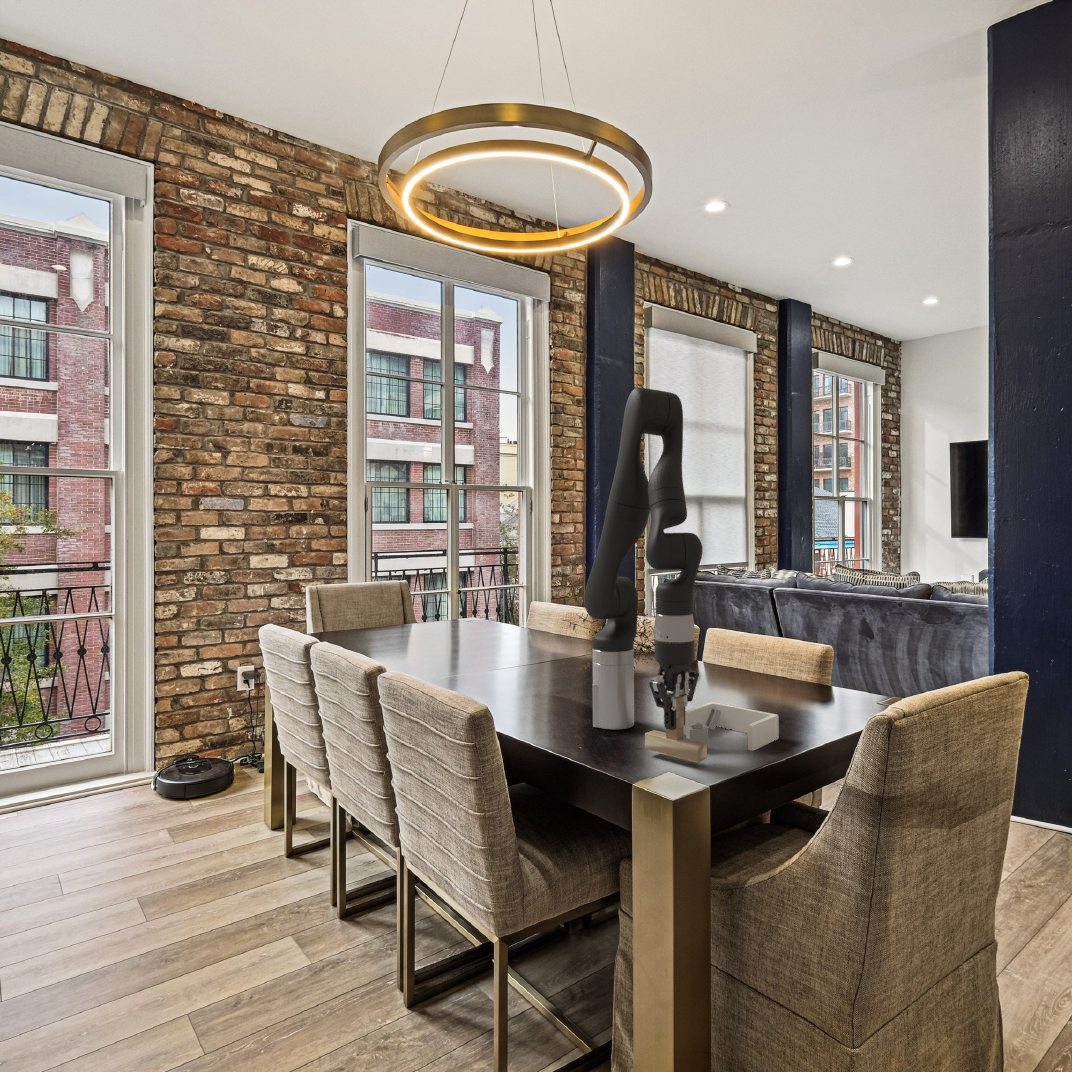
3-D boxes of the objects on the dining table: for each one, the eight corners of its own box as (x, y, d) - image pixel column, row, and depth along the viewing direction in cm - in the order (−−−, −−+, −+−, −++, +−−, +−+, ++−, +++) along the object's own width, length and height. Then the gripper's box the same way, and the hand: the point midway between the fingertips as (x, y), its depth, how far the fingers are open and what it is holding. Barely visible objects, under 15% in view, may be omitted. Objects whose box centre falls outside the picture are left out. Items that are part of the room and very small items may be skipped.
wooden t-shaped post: (697, 762, 135) (697, 703, 135) (644, 748, 143) (644, 692, 143) (706, 758, 137) (706, 700, 137) (654, 745, 145) (653, 690, 145)
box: (752, 750, 145) (752, 726, 145) (684, 734, 156) (683, 711, 156) (778, 738, 153) (778, 714, 153) (711, 724, 164) (711, 701, 164)
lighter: (690, 751, 145) (689, 711, 145) (686, 748, 147) (685, 709, 147) (721, 748, 147) (721, 708, 147) (717, 745, 149) (717, 706, 149)
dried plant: (668, 606, 235) (549, 553, 220) (722, 628, 206) (589, 568, 191) (630, 693, 234) (508, 645, 219) (679, 728, 205) (542, 675, 190)
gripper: (669, 644, 132) (670, 739, 132) (711, 634, 142) (711, 723, 142) (636, 639, 137) (637, 731, 138) (678, 630, 147) (679, 716, 148)
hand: (674, 726), depth 140 cm, fingers closed on wooden t-shaped post, 2 cm apart
